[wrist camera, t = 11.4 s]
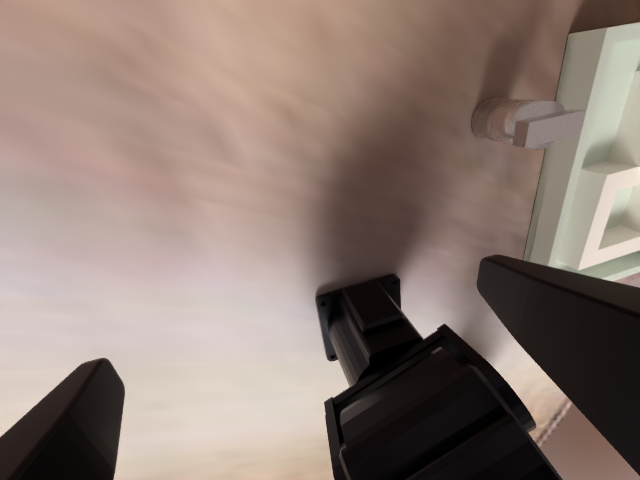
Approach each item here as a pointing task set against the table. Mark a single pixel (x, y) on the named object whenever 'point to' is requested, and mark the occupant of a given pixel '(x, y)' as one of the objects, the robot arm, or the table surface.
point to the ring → (607, 197)
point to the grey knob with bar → (526, 122)
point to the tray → (586, 141)
